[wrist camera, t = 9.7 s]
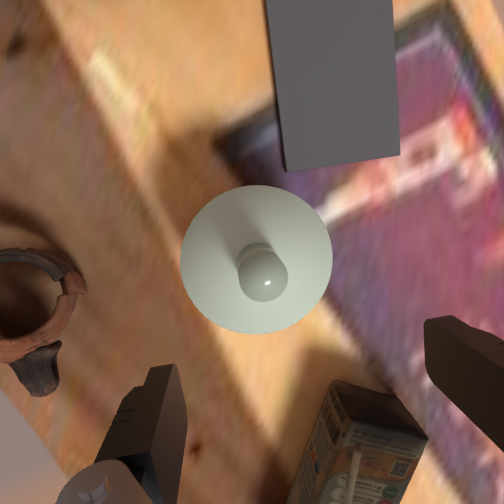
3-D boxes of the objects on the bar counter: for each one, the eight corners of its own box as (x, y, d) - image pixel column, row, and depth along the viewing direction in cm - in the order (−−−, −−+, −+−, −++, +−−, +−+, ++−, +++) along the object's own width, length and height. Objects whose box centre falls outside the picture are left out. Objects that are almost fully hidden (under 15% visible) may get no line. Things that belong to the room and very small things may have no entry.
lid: (168, 197, 24) (153, 202, 19) (319, 174, 25) (343, 172, 20) (196, 338, 27) (190, 375, 22) (334, 314, 27) (359, 345, 22)
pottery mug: (-46, 286, 30) (-96, 269, 23) (67, 245, 34) (55, 219, 27) (11, 411, 30) (-21, 435, 22) (119, 354, 34) (122, 358, 26)
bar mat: (263, -10, 27) (264, -14, 26) (387, -25, 27) (390, -30, 27) (285, 172, 30) (287, 172, 29) (396, 155, 30) (400, 155, 30)
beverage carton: (270, 527, 38) (280, 598, 31) (328, 373, 35) (352, 417, 28) (337, 539, 39) (359, 610, 32) (399, 391, 36) (438, 437, 29)
